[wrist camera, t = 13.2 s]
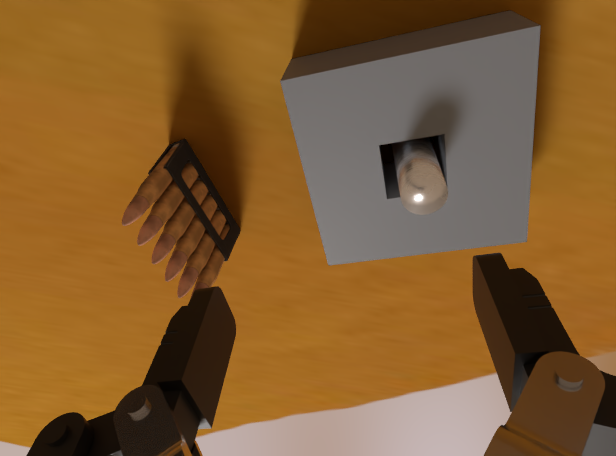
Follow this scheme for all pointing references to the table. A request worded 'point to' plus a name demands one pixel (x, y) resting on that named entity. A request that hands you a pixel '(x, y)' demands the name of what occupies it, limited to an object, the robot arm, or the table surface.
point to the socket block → (419, 135)
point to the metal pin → (419, 176)
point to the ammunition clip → (184, 218)
